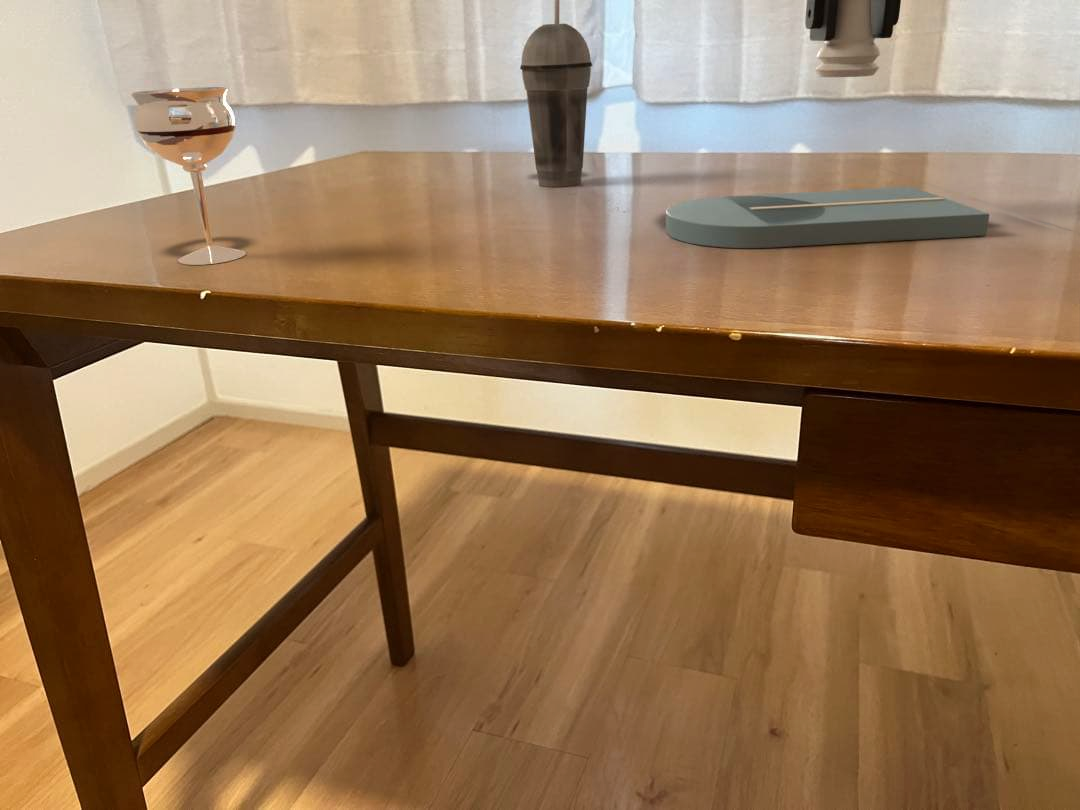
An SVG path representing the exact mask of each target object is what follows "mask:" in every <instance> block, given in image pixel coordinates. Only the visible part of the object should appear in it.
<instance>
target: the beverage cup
mask: <svg viewBox="0 0 1080 810" xmlns="http://www.w3.org/2000/svg"><path fill="white" fill-rule="evenodd" d="M553 1H554V2H553V3H554V5H553V6H554V10H553V11H554V13H553V19H554V20H553V21H554V22H553V23H548V24H547V23H546V24H542V25H540V26H538V27H537V28H536V29H535V30H534V31H533V32H532V33H531V34H530V35H529V37H528V38H527V39H526V42H525V44H524V46H523V50H522V54H521V63H520V67H519V70H521V75H522V81H523V86H524V90H526V91H525V92H526V99H527V105H528V106H527V107H528V115H529V122H530V130H531V139H532V148H533V154H534V163H535V169H536V173H537V179H538V186H540V187H548V188H564V187H573V186H577V185H581V184H582V176H583V175H582V174H583V166H584V154H585V153H584V152H585V136H586V119H587V103H588V88H589V87H590V80H591V75H592V74H591V73H592V72H591V71H592V67H593V63H592V60H591V53H590V48H589V46H588V44H587V41H586V40H585V38H584V36H583V35H582V34H581V32H579V31H578V30H577V28H575V27H573V25H571V24H567V23H560V0H553Z"/></svg>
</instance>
